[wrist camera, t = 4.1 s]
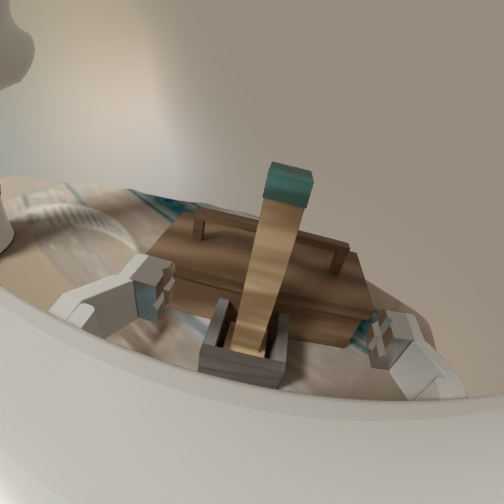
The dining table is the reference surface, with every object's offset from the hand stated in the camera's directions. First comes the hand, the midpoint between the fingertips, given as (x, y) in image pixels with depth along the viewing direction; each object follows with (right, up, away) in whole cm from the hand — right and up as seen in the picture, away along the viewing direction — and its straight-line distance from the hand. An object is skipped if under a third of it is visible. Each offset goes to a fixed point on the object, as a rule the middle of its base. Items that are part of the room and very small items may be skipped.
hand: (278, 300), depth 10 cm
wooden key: (-2, -10, +21) cm, 23 cm away
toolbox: (-1, -7, +25) cm, 26 cm away
